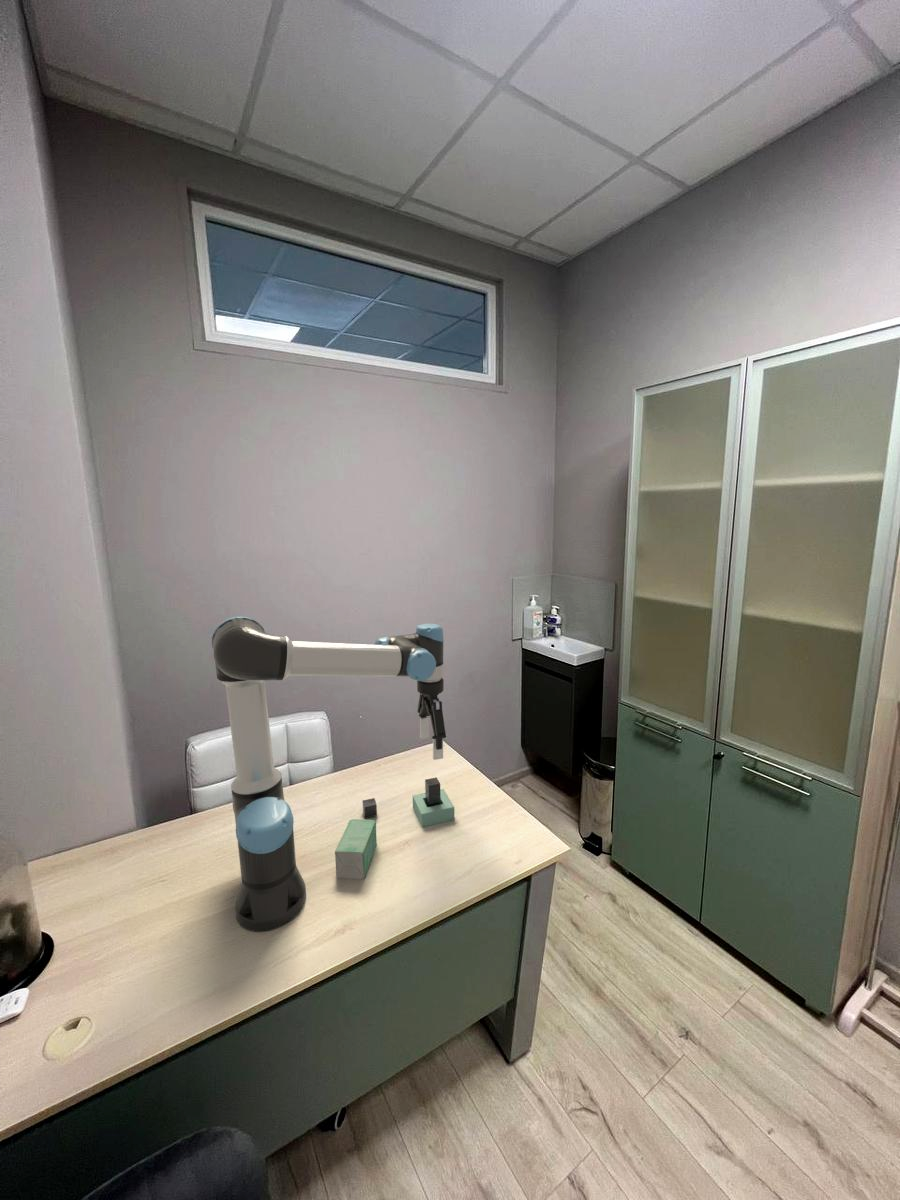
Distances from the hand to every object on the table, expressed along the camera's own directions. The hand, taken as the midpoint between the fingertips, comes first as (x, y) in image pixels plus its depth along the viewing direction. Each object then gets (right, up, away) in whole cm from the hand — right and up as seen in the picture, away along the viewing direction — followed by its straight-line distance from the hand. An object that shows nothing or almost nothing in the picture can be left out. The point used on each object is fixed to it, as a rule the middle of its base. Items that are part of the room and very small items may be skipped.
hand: (431, 747), depth 139 cm
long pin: (0, -21, +4) cm, 21 cm away
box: (-18, -25, -15) cm, 34 cm away
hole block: (0, -21, +4) cm, 21 cm away
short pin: (-18, -21, +3) cm, 28 cm away
